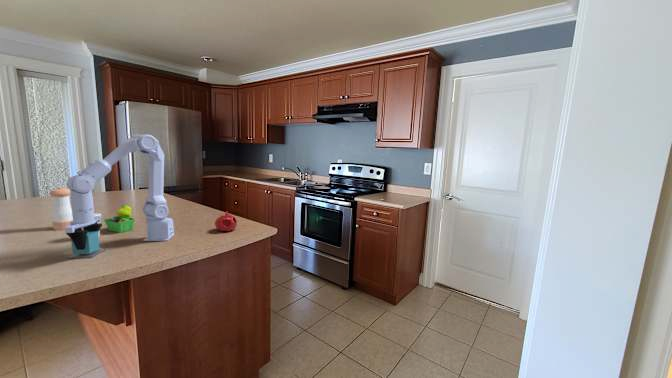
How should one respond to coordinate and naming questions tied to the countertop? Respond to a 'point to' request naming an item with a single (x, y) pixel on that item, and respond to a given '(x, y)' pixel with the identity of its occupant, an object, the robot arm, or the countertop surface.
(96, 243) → the teal foam brick
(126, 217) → the fruit basket
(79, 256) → the grey square base plate
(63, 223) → the salt shaker
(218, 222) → the pomegranate
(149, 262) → the countertop surface
